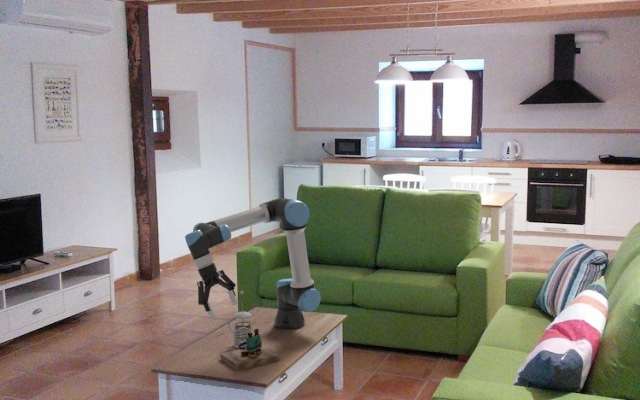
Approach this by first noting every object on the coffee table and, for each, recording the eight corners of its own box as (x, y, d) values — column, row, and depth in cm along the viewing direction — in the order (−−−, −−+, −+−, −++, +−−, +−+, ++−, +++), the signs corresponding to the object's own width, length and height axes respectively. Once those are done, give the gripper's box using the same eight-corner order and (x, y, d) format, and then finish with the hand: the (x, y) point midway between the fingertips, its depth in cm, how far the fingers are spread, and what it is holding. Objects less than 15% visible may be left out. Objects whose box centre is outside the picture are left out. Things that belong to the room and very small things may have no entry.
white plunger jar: (250, 348, 306) (249, 294, 303) (225, 347, 309) (224, 293, 306) (256, 341, 316) (255, 288, 313) (232, 340, 318) (231, 287, 315)
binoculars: (245, 327, 298) (263, 328, 292) (247, 350, 298) (266, 352, 293) (232, 332, 290) (251, 334, 285) (234, 357, 291) (253, 358, 286)
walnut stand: (261, 349, 305) (261, 344, 304) (279, 360, 291) (279, 354, 291) (220, 359, 294) (220, 353, 293) (237, 370, 280) (236, 364, 280)
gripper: (221, 256, 306) (239, 300, 307) (178, 277, 288) (197, 324, 289) (231, 253, 301) (249, 298, 302) (188, 275, 283) (208, 322, 284)
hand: (224, 311), depth 296 cm, fingers open, 13 cm apart
